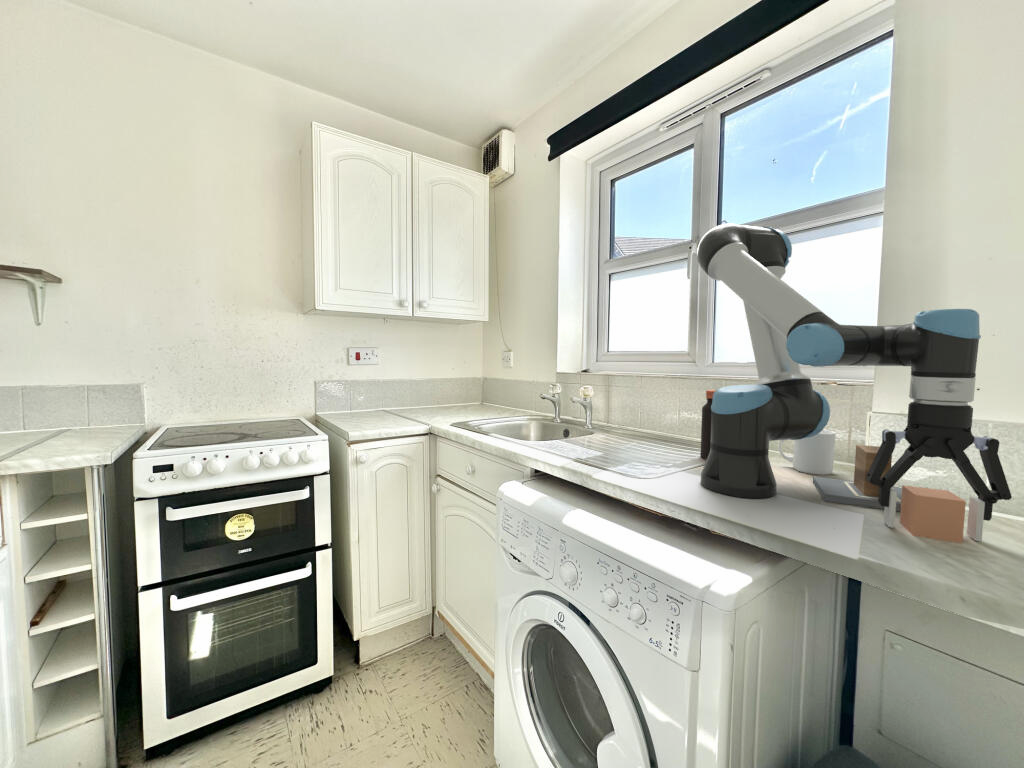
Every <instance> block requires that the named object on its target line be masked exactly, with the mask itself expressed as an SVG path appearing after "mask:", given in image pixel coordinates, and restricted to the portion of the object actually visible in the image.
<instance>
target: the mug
mask: <svg viewBox="0 0 1024 768" xmlns="http://www.w3.org/2000/svg"><path fill="white" fill-rule="evenodd" d="M785 441H787V440H779V444H778V449H779V453H780V455H781V457H782V458H783V459H784V460H786V461H787V462H790V463H792V467H793V469H794V470H796V471H798V472H800V473H805V474H810V475H817V476H818V475H819V476H825V475H826V476H827V475H831V474H832V473H833V471H834V464H835V463H834V461H835V446H836V445H835V444H836V432H835V431H832V430H829V429H824V428H823V430H822V431H821V432H820V433H818V434H817V435H815V436H812V437H809V438H803V439H798V440H793V451H792V452H793V453H792V455H786V454H785V453H784V452H783V451H782V445H783V443H784V442H785Z"/></svg>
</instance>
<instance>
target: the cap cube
mask: <svg viewBox="0 0 1024 768" xmlns="http://www.w3.org/2000/svg"><path fill="white" fill-rule="evenodd" d="M901 487H902V499H901V512H899V513H900V515H899V517H900V518H899V524H901V525H902V526H903V528H904V529H905V530H906V531H908V532H909V534H911V536H914V537H920V538H925V539H933V540H939V541H946V542H952V543H953V542H954V543H958V544H959V543H960V544H963V539H964V528H965V527H964V526H965V514H966V506H967V505H966V503H967V502H966V500H964V499H962V498H961V497H960V496H959V495H956V494H955V493H953V492H951V491H949V490H948V489H947V490H945V489H938V488H930V487H928V488H927V487H922V486H921V487H920V486H912V485H911V486H910V485H905V484H904V485H902V486H901Z"/></svg>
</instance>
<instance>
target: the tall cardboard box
mask: <svg viewBox="0 0 1024 768" xmlns="http://www.w3.org/2000/svg"><path fill="white" fill-rule="evenodd" d="M879 448H880V446H876V445H865V444H855V456H854V457H855V460H854V473H853V481H854V485H855V486H856V487H857V488H858V489H859V491H860V492H861V493H862V494H863V495H868V496H876V497H878V494H879V486H877V485H874V484H871V483H870V482H869V481H868V480H867V479H866V475H867V473H868V471H869V469H870V467H871V465H872V463H873V461H874V459H875V456H876V454H877V452H878V450H879ZM892 459H893V454H892V455H891V457H890V459H889V461H888V463H887V465H886V468H885V470H884V472H883V474H882V476H881V478H882V477H883V476H884V475H885V474H886V472H887V471H888V470H889V469H890V468H891V467H892ZM881 478H880V479H881Z"/></svg>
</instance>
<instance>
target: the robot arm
mask: <svg viewBox="0 0 1024 768" xmlns="http://www.w3.org/2000/svg"><path fill="white" fill-rule="evenodd" d="M696 250H697V251H696V258H697V261H698V263H699V266H700V268H701V269H702V270H703V272H705V274H707V275H708V277H710V278H711V279H712V280H714V281H719V282H723V284H725V286H727V287H728V288H729V289H730V290H731V291H732V292H733V293H734V294H736V296H737V297H739V298H740V299H741V300H742V302H743V307H744V312H745V316H746V321H747V325H748V326H747V327H748V330H749V331H748V332H749V335H750V340H751V346H752V351H753V356H754V363H755V367H756V372H757V375H758V380H757V382H756V383H755V384H754V383H753V384H752V383H751V384H748V383H747V384H736V385H734V384H733V385H727V386H722V387H720V388H718V389H715V390H716V391H715V392H714V394H713V401H712V405H711V445H710V453H709V456H708V458H707V459H705V464H704V465H703V468H702V471H701V473H700V485H702V486H703V487H704V488H705V489H708V490H710V491H713V492H716V493H719V494H723V495H727V496H733V497H737V498H738V497H739V498H749V499H765V498H766V499H767V498H770V497H774V496H775V495H776V494H777V481H776V477H775V473H774V472H773V469H772V465H771V461H770V459H769V451H770V450H769V449H770V441H771V442H772V441H781V440H786V441H788V440H789V441H790V440H791V441H794V440H798V439H803V438H809V437H812V436H815V435H817V434H818V433H820V432H821V431H822V430H823V429H824V428H825V427H826V426H827V425H828V423H829V421H830V416H831V415H830V414H831V407H830V403H829V402H828V399H827V398H826V397H825V396H824V395H823V394H821V392H819V391H818V390H816V389H814V388H813V384H812V380H811V378H810V377H809V376H807V375H805V374H804V373H802V371H801V366H800V365H803V366H810V367H815V368H816V367H823V368H824V367H837V366H838V367H840V366H846V367H847V366H849V367H850V366H853V367H855V366H856V367H868V366H872V367H910V381H909V382H910V383H909V393H908V397H909V398H910V399H911V400H913V401H911V402H909V403H908V407H907V408H908V409H907V420H906V421H907V422H906V427H905V429H904V430H903V431H901V430H900V431H899V430H898V431H897V430H889V429H884V430H882V431H881V438H882V440H881V444H880V446H879V447H880V448H879V450H878V452H877V454H876V456H875V459H874V461H873V463H872V465H871V467H870V469H869V471H868V473H867V475H866V479H867V480H868V481H869V482H870V483H871V484H874V485H877V486H879V494H878V502H879V504H880V505H881V506H884V507H885V509H884V510H883V513H884V515H883V522H884V524H885V525H887V527H889V528H893V529H894V528H895V527H896V526H895V525H896V524H895V523H896V522H895V521H896V513H897V511H896V498H897V491H896V490H895V489H893V488H892V487H893V486H896V484H897V482H899V480H900V479H902V477H903V476H904V475H905V474H906V473H907V472H908V471H909V470H910V469H911V467H913V466H914V465H915V463H916V462H918V461H920V460H921V459H922V458H923V457H924V458H925V457H926V458H938V457H939V458H942V459H944V460H946V459H947V460H948V459H949V460H952V461H953V463H954V464H955V466H956V467H957V469H958V470H959V471H960V472H961V474H962V476H963V478H965V480H966V482H967V483H968V484H969V486H970V487H971V489H972V490H973V492H974V493H975V494H976V496H969V502H968V503H969V504H968V515H967V516H968V517H967V525H966V526H967V527H966V535H967V536H968V537H970V538H971V539H973V540H974V541H977V542H982V540H983V529H984V521H991V520H992V516H993V505H994V504H997V502H998V501H1001V500H1005V501H1010V500H1011V499H1012V493H1011V490H1010V487H1009V484H1008V480H1007V479H1006V475H1005V472H1004V469H1003V466H1002V463H1001V460H1000V456H999V454H998V453H999V449H1000V441H999V440H998V439H996V438H993V437H989V436H976V435H975V436H974V435H973V433H972V427H973V418H974V417H973V415H974V407H973V406H972V405H969V403H972V402H974V400H975V388H976V374H977V373H976V369H977V363H978V352H979V344H980V343H979V342H980V339H981V337H982V336H981V335H980V314H979V312H977V311H976V310H974V309H972V308H971V309H970V308H946V309H944V308H943V309H933V310H932V309H930V310H929V309H928V310H921V311H919V312H917V313H916V314H915V317H914V320H913V323H908V324H907V323H906V324H897V325H896V324H895V325H893V324H892V325H890V324H889V325H858V324H857V325H856V324H853V325H852V324H840V323H838V322H836V320H835V321H834V320H833V319H832V318H831V317H830V316H828V315H827V314H826V313H824V312H823V311H822V310H821V309H819V308H818V307H817V306H816V305H814V304H813V303H812V302H810V300H808V299H807V298H805V297H804V296H803V295H802V294H800V293H799V292H797V290H795V288H793V287H791V286H790V285H788V284H787V283H786V282H785V281H784V280H782V278H783V277H784V275H785V274H786V272H787V270H786V267H788V264H789V263H790V260H789V259H790V258H791V257H792V255H793V254H792V253H793V246H792V242H791V240H790V238H789V237H788V235H787V234H786V233H784V231H782V230H780V229H775V228H772V227H771V226H752V225H744V224H738V223H737V224H736V223H724V224H720V225H717V226H715V227H712V228H711V229H710V230H709V231H707V232H706V233H705V234H704V235H703V236H702V238H701V239H700V241H699V244H698V246H697V249H696ZM902 439H905V440H906V442H907V443H908V444H909V445H908V447H907V448H906V449H905V450H904V451H903V454H902V455H901V456H900V457H899V458H898V459H897V461H895V462H894V464H893V465H891V468H890V469H889V470H888V471H887V472H886V474H885V475H884V476H883V477H882V478H881V476H882V474H883V472H884V470H885V468H886V465H887V463H888V461H889V459H890V457H891V455H892V456H893V453H894V452H895V448H896V445H897V444H900V443H901V440H902ZM973 444H974V446H975V447H974V448H976V449H977V450H979V451H978V452H979V456H980V458H981V462H982V465H983V467H984V470H985V473H986V477H987V480H988V483H989V486H990V489H989V487H988V485H986V483H985V481H984V480H983V479H982V477H981V475H980V474H979V472H978V471H977V469H976V468H975V467H974V465H973V464H972V463H971V460H970V458H969V456H968V455H967V454H966V452H965V450H967V449H968V448H969V447H970V446H971V445H973ZM880 478H881V479H880Z"/></svg>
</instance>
